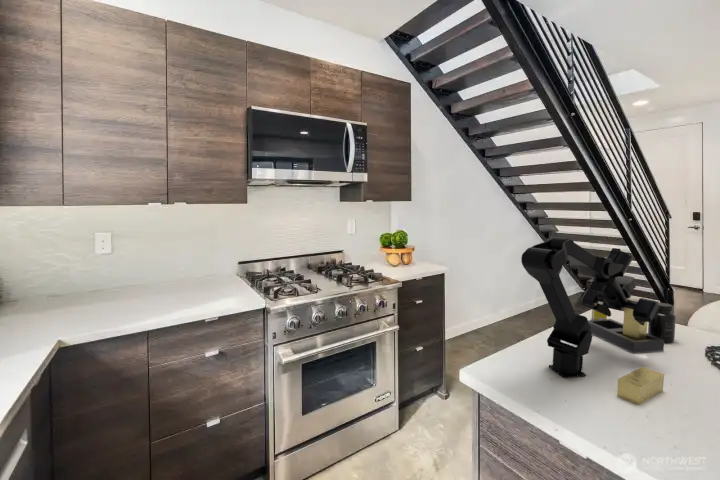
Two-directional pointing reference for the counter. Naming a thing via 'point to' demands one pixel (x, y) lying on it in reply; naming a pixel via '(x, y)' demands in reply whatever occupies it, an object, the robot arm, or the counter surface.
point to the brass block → (633, 326)
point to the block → (640, 385)
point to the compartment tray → (614, 335)
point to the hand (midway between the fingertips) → (626, 319)
